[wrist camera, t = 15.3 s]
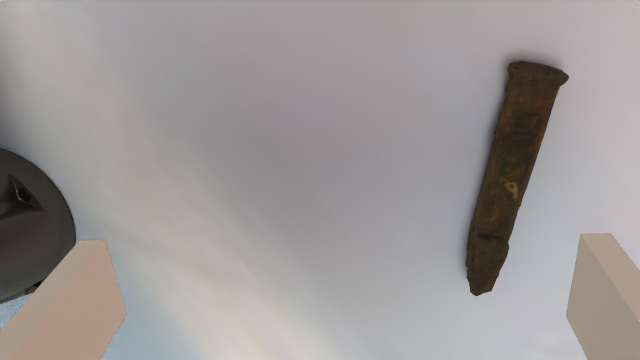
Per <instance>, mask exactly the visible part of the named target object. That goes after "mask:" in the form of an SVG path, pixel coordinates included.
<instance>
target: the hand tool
mask: <svg viewBox="0 0 640 360" xmlns="http://www.w3.org/2000/svg"><path fill="white" fill-rule="evenodd" d="M508 72H509V75H510V80H509V82H508V84H507V85H506V87H505V92H506V99H505V101H504V103H503V107H502V111H501V113H500V115H499V119H498V124H497V126H496V129H495V132H494V134H495V135H496V137H495V140H494V141H493V143H492V149H491V153H490V158H489V161H488V165H487V169H486V173H485V177H484V181H483V185H482V189H481V192H480V196H479V200H478V204H477V207H476V211H475V215H474V218H473V220H472V222H471V226H470V231H469V237H468V243H467V251H468V252H467V260H466V267H467V279H468V281H469V286H470V292H471V293H472V294H473V295H475V296H478V295H481V294H483V293H486V292H489V291H492V288H493V286H494V284H495V281H496V279H497V277H498V275H499V272H500V269H501V268H502V266H503V264H504V262H505V259H506V257H507V254H508V250H509V244H508V241H509V238H510V236H511V233H512V230H513V226H514V223H515V219H516V216H517V212H518V209H519V207H520V205H521V202H522V199H523V196H524V193H525V191H526V188H527V185H528V182H529V179H530V176H531V173H532V170H533V167H534V164H535V161H536V158H537V155H538V152H539V149H540V146H541V142H542V140H543V137H544V134H545V131H546V127H547V124H548V120H549V117H550V114H551V110H552V107H553V104H554V101H555V98H556V95H557V93H558V90H559V88H560V86H561V85H563V84H564V83H566V81H567V80H568V79H569V76H568V75H567V74H566V73H564V72H563V71H562V70H558V69H555V68H553V67H549V66H545V65H541V64H535V63H528V62H522V61H521V62H518V63H510V65H509V67H508Z"/></svg>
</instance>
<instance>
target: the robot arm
mask: <svg viewBox="0 0 640 360" xmlns="http://www.w3.org/2000/svg"><path fill="white" fill-rule="evenodd" d="M74 244H75V232H74V225H73V221H72V217H71V214H70V212H69V209H68V207H67V205H66V203H65V201H64V199H63V197H62V196H61V194H60V193H59V191H58V190H57V188H56V187H55V186H54V185H53V183H52V182H51V181H50V180H49V179H48V178H47V177H46V176H45V175H44V174H43V173H42V172H41V171H40V170H39V169H38V168H36V167H35V166H34V165H32V164H31V163H29V162H28V161H26V160H25V159H23V158H21V157H19V156H17V155H15V154H13V153H11V152H8V151H5V150H2V149H0V304H2V303H5V302H8V301H11V300H14V299H16V298H19V297H22V296H24V295H27V294H30V293H33V292H34V293H33V294H32V295H31V296H30V297H29V299H28V300H27V301H26V302H25V303H24V304H23V305H22V306H21V308H20V309H19V310H18V311H17V312H16V313H15V314H14V316H13V317H12V318H11V319H10V320H9V321H8V322H7V324H6V325H5V326H4V327H3V328H2V329H1V330H0V360H100V359H101V357H102V355H103V354H104V352H105V350H106V349H107V347H108V345H109V344H110V342H111V340H112V339H113V337H114V335H115V333H116V332H117V330H118V328H119V327H120V325H121V323H122V322H123V320H124V318H125V317H126V315H127V314H126V310H125V307H124V303H123V300H122V297H121V293H120V290H119V286H118V283H117V279H116V276H115V272H114V269H113V266H112V262H111V259H110V255H109V252H108V248H107V245H106V241H105V240H80V241H79V242H78V243H77V244H76V245H75V246H74ZM566 317H567V319H568V321H569V323H570V325H571V327H572V329H573V331H574V333H575V335H576V337H577V339H578V341H579V343H580V345H581V347H582V349H583V351H584V353H585V355H586V357H587V359H588V360H640V271H639V269H638V268H637V267H636V265H635V264H634V263H633V261H632V260H631V259H630V257H629V256H628V255H627V253H626V252H625V251H624V250H623V248H622V247H621V246H620V244H619V243H618V242H617V240H616V239H615V238H614V236H613V235H612V234H611V233H605V234H581V235H580V240H579V246H578V251H577V257H576V262H575V268H574V274H573V279H572V285H571V290H570V296H569V301H568V307H567V313H566Z"/></svg>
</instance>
